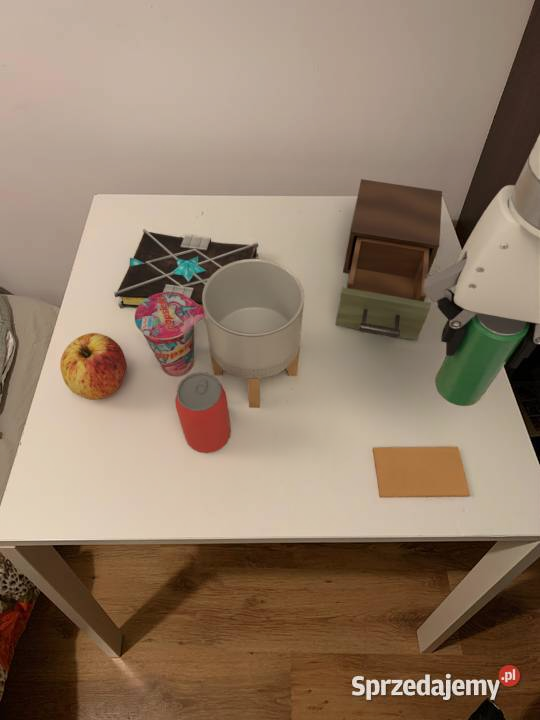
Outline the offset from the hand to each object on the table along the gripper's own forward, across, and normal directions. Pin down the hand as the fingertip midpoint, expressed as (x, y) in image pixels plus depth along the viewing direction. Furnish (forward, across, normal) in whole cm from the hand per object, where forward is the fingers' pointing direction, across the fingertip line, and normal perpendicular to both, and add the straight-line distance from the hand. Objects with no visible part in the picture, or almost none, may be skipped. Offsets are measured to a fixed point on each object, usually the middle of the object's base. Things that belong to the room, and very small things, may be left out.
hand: (480, 349), depth 48 cm
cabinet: (+25, +9, -40) cm, 48 cm away
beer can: (+25, +30, +4) cm, 39 cm away
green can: (+7, 0, 0) cm, 7 cm away
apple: (+25, +48, 0) cm, 54 cm away
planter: (+25, +26, -8) cm, 37 cm away
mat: (+25, 0, +3) cm, 25 cm away
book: (+25, +42, -24) cm, 54 cm away
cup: (+25, +38, -7) cm, 46 cm away
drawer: (+24, +8, -24) cm, 35 cm away
